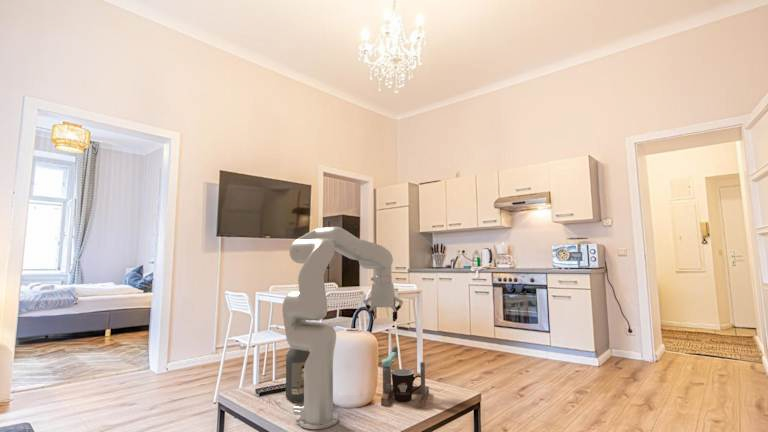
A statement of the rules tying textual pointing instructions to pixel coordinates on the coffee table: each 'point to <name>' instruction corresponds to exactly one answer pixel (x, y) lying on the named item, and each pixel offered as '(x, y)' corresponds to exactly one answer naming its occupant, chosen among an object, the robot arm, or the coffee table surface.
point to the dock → (422, 390)
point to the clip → (390, 357)
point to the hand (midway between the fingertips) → (383, 320)
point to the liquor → (295, 374)
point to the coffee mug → (403, 384)
